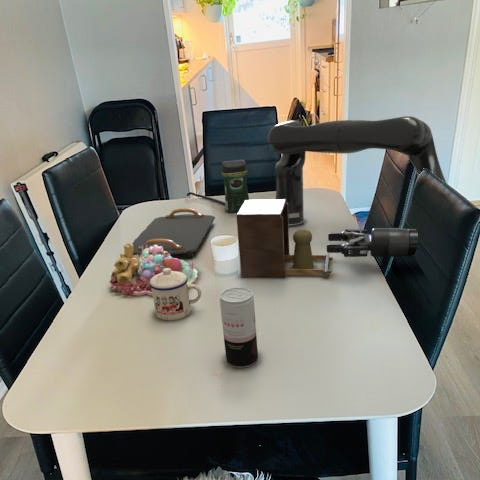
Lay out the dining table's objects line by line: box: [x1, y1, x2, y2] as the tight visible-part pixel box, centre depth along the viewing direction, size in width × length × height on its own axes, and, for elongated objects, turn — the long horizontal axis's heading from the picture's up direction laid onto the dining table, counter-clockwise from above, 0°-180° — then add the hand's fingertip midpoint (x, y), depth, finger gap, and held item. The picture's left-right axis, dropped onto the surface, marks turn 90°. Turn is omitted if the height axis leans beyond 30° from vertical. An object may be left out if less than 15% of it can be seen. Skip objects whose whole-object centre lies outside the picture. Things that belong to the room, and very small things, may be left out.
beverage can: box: [219, 287, 259, 369], centre depth 98 cm, size 7×7×15 cm
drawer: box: [284, 252, 334, 278], centre depth 139 cm, size 14×13×2 cm
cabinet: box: [235, 198, 291, 279], centre depth 137 cm, size 12×13×18 cm
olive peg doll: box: [291, 229, 315, 269], centre depth 137 cm, size 6×6×11 cm
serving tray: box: [131, 207, 216, 259], centre depth 166 cm, size 39×23×6 cm, turn 172°
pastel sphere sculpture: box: [109, 243, 199, 297], centre depth 139 cm, size 25×24×9 cm
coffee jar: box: [221, 159, 250, 213], centre depth 189 cm, size 10×8×19 cm
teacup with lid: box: [150, 268, 202, 321], centre depth 120 cm, size 12×9×12 cm
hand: (327, 242), depth 134 cm, fingers open, 8 cm apart
